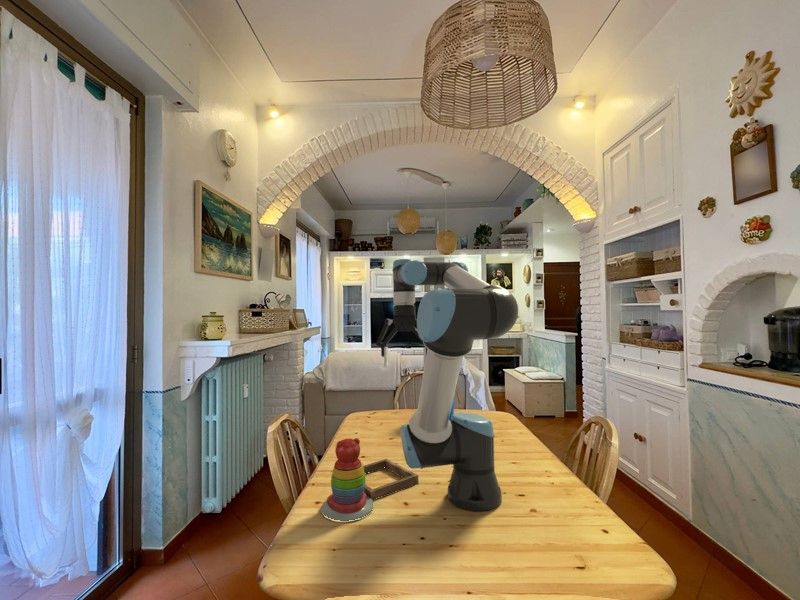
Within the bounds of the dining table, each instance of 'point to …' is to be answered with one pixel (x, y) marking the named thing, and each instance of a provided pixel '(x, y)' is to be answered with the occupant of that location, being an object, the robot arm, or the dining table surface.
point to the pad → (348, 516)
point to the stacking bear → (347, 478)
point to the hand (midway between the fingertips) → (405, 366)
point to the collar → (407, 481)
